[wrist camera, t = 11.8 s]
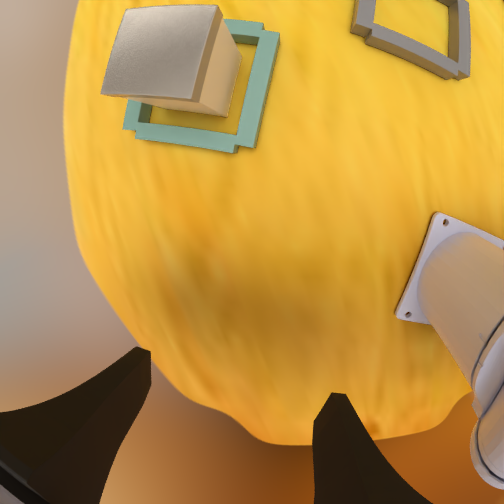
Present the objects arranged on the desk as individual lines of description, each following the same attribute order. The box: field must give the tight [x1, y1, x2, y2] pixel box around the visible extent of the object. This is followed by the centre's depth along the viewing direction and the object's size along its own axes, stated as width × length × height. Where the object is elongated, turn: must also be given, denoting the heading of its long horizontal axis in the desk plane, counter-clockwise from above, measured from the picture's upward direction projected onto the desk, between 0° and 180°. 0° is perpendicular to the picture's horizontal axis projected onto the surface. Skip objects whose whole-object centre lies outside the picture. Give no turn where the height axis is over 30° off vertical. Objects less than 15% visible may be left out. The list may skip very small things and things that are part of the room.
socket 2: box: [350, 0, 471, 80], centre depth 10 cm, size 8×8×2 cm
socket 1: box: [123, 19, 280, 153], centre depth 14 cm, size 8×8×2 cm
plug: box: [101, 5, 242, 117], centre depth 11 cm, size 4×4×7 cm
